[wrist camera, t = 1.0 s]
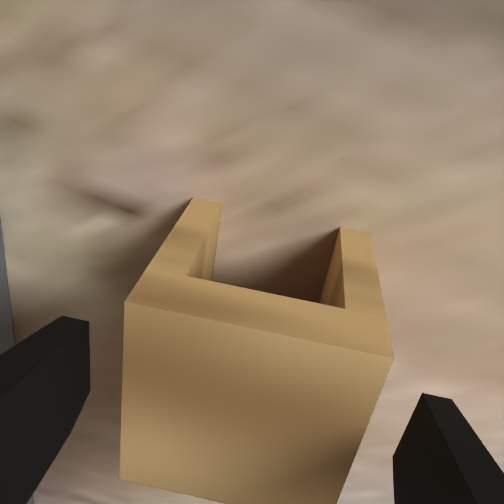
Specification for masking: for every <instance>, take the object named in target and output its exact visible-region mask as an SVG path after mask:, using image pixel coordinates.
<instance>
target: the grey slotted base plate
mask: <svg viewBox="0 0 504 504" xmlns="http://www.w3.org/2000/svg"><path fill="white" fill-rule="evenodd" d="M13 346H15V340H14V332H13V323H12V315H11V306H10V298H9V289H8V281H7V272H6V264H5V255H4V247H3V238H2V230H1V221H0V354H2V353H4V352H5V351H7V350H8V349H10V348H12V347H13ZM27 504H34V502H33V494H32V496H31V498H30V499H29V501H28V502H27Z"/></svg>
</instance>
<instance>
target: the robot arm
mask: <svg viewBox="0 0 504 504" xmlns="http://www.w3.org/2000/svg"><path fill="white" fill-rule="evenodd" d="M89 392H90V348H89V321H84V320H79V319H75V318H70V317H65V316H61V317H59V318H57V319H56V320H54V321H53V322H51V323H49V324H48V325H46V326H45V327H43V328H41V329H40V330H38V331H37V332H35V333H33V334H32V335H30V336H29V337H27V338H26V339H24V340H23V341H21V342H19V343H18V344H16V345H15V346H13V347H12V348H10V349H8V350H7V351H5V352H4V353H2V354H0V504H27V502H28V501H29V499H30V498H31V496H32V494H33V493H34V491H35V490H36V488H37V486H38V485H39V483H40V482H41V480H42V478H43V477H44V475H45V473H46V472H47V470H48V469H49V467H50V465H51V464H52V462H53V461H54V459H55V457H56V456H57V454H58V452H59V451H60V449H61V448H62V446H63V444H64V443H65V441H66V439H67V438H68V436H69V434H70V433H71V430H72V428H73V426H74V424H75V422H76V420H77V418H78V416H79V414H80V412H81V410H82V407H83V405H84V403H85V401H86V399H87V396H88V394H89ZM393 483H394V502H395V504H504V473H503V471H502V470H501V469H500V467H499V466H498V465H497V463H496V462H495V460H494V459H493V457H492V456H491V455H490V453H489V452H488V450H487V449H486V448H485V446H484V445H483V443H482V442H481V440H480V439H479V438H478V436H477V435H476V433H475V432H474V430H473V429H472V427H471V426H470V425H469V423H468V422H467V420H466V419H465V417H464V416H463V415H462V413H461V412H460V410H459V409H458V407H457V406H456V405H455V403H454V402H453V401H452V399H448V398H443V397H438V396H434V395H429V394H424V393H422V395H421V397H420V399H419V401H418V403H417V406H416V408H415V410H414V412H413V414H412V416H411V418H410V421H409V423H408V425H407V427H406V429H405V431H404V434H403V436H402V438H401V440H400V442H399V444H398V447H397V449H396V451H395V453H394V455H393Z"/></svg>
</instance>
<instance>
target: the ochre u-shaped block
mask: <svg viewBox="0 0 504 504" xmlns="http://www.w3.org/2000/svg"><path fill="white" fill-rule="evenodd" d="M221 209H222V203H218V202H213V201H208V200H203V199H198V198H193V199H192V200H191V202H190V203H189V205H188V206H187V208H186V209H185V211H184V212H183V214H182V215H181V217H180V218H179V220H178V221H177V223H176V224H175V226H174V227H173V229H172V230H171V232H170V233H169V235H168V236H167V238H166V239H165V241H164V242H163V244H162V245H161V247H160V249H159V250H158V252H157V253H156V255H155V256H154V258H153V259H152V261H151V262H150V264H149V265H148V267H147V268H146V270H145V271H144V273H143V274H142V276H141V277H140V279H139V280H138V282H137V283H136V285H135V286H134V288H133V289H132V291H131V292H130V294H129V295H128V297H127V298H126V300H125V301H124V335H123V370H122V406H121V441H120V476H119V479H120V480H125V481H129V482H133V483H138V484H142V485H147V486H151V487H155V488H160V489H164V490H168V491H173V492H177V493H182V494H186V495H190V496H195V497H199V498H203V499H208V500H212V501H217V502H221V503H225V504H336V503H337V501H338V498H339V496H340V493H341V491H342V488H343V486H344V483H345V480H346V478H347V475H348V473H349V470H350V468H351V465H352V463H353V460H354V458H355V455H356V453H357V450H358V448H359V445H360V443H361V440H362V438H363V435H364V433H365V430H366V428H367V425H368V423H369V420H370V418H371V415H372V413H373V410H374V408H375V405H376V403H377V400H378V398H379V395H380V392H381V390H382V387H383V385H384V382H385V380H386V377H387V375H388V372H389V370H390V367H391V365H392V362H393V360H394V355H393V350H392V345H391V340H390V335H389V329H388V324H387V319H386V314H385V309H384V303H383V298H382V293H381V288H380V283H379V277H378V272H377V267H376V262H375V257H374V251H373V246H372V241H371V236H370V233H368V232H363V231H358V230H353V229H348V228H343V227H340V229H339V233H338V236H337V240H336V244H335V247H334V251H333V254H332V258H331V262H330V265H329V269H328V273H327V276H326V280H325V284H324V287H323V291H322V294H321V298H320V302H319V303H315V302H310V301H305V300H300V299H295V298H290V297H286V296H281V295H276V294H271V293H266V292H261V291H257V290H252V289H247V288H242V287H237V286H233V285H228V284H223V283H218V282H213V281H212V276H213V268H214V261H215V253H216V246H217V239H218V231H219V224H220V216H221Z"/></svg>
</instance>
